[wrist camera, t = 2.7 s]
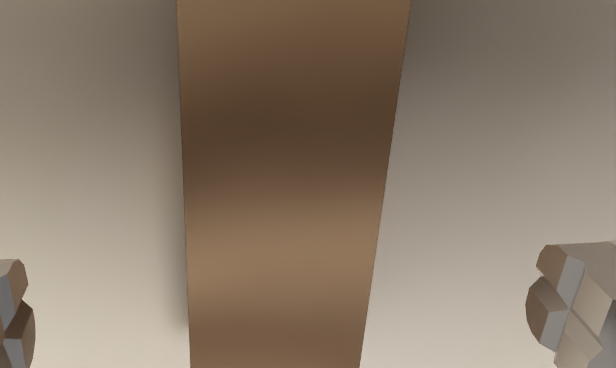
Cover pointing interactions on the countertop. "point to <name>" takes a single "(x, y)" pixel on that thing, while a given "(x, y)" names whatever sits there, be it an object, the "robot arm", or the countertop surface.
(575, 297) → the robot arm
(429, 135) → the countertop surface
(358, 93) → the shelf board
